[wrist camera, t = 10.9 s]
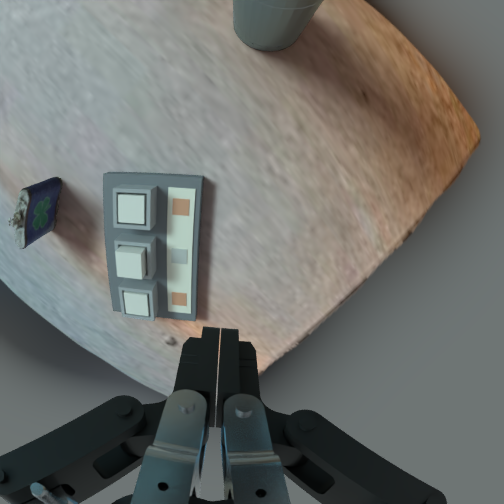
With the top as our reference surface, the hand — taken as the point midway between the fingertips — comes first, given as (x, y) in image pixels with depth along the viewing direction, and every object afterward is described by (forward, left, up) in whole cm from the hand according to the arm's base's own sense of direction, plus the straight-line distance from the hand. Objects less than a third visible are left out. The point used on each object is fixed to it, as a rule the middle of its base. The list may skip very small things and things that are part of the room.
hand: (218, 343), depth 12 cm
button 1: (+15, -13, -27) cm, 33 cm away
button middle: (+8, -13, -25) cm, 29 cm away
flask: (+2, -29, -29) cm, 41 cm away
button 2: (+1, -12, -27) cm, 30 cm away
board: (+8, -11, -29) cm, 32 cm away
